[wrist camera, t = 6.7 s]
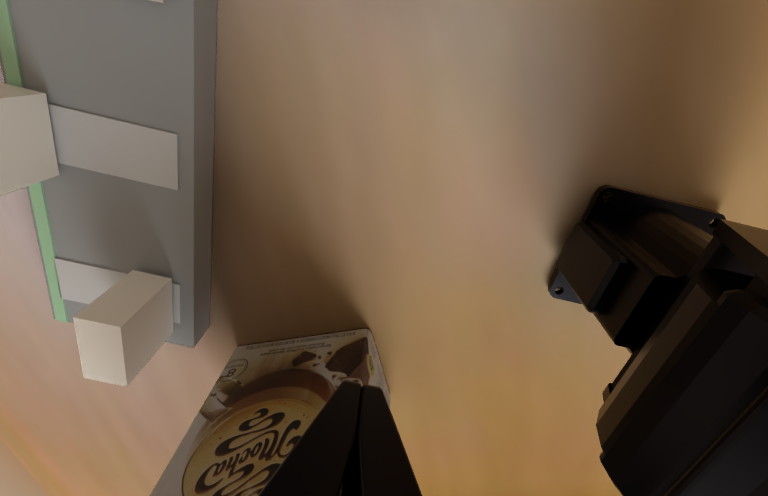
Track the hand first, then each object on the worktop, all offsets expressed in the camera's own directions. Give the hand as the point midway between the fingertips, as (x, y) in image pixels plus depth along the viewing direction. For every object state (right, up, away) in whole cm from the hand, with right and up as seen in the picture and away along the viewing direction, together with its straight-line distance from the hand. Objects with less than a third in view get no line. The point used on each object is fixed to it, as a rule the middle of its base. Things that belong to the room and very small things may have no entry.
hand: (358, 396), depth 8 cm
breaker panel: (-12, +9, +11) cm, 18 cm away
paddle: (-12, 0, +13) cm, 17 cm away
